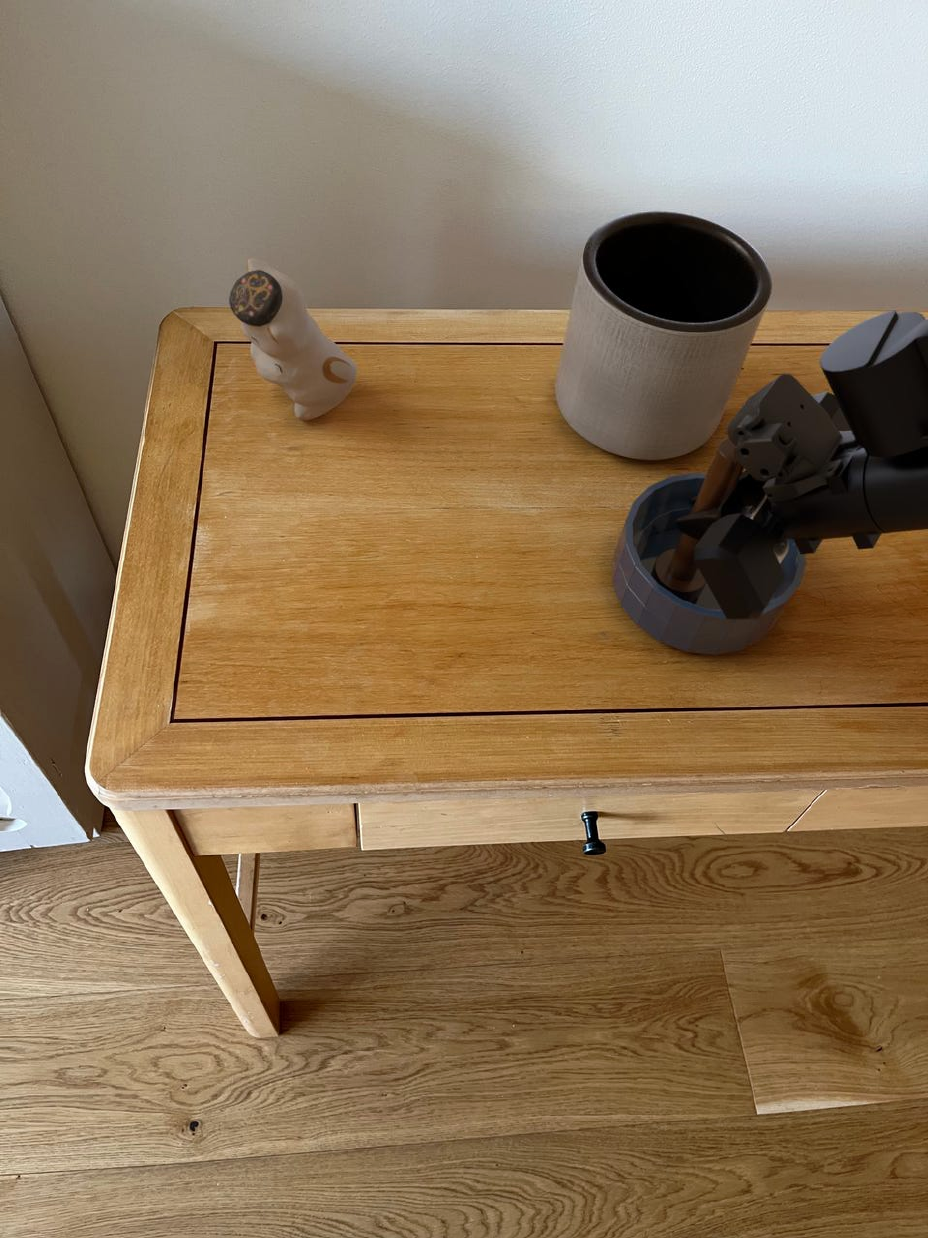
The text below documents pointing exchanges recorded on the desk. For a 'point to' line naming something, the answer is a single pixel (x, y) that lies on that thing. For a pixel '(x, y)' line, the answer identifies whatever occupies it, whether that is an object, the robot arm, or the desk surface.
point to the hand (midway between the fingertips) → (686, 515)
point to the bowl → (661, 610)
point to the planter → (658, 332)
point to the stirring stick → (678, 563)
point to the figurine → (290, 341)
